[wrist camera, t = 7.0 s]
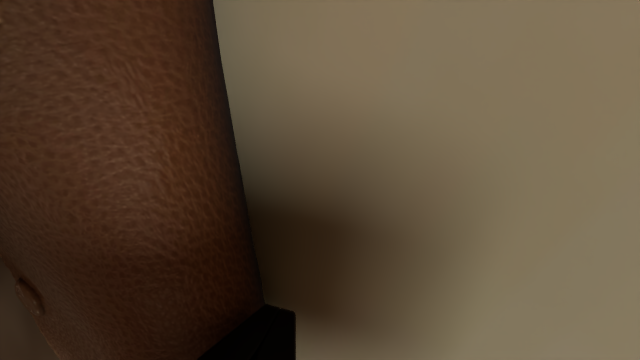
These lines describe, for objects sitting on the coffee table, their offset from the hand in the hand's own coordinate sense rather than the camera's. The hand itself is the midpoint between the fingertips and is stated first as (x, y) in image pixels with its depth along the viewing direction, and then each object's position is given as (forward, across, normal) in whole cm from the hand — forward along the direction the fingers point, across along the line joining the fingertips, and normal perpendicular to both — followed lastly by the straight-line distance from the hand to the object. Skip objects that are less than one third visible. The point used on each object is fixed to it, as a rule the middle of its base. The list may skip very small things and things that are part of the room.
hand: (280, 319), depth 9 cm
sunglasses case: (+2, +5, 0) cm, 6 cm away
